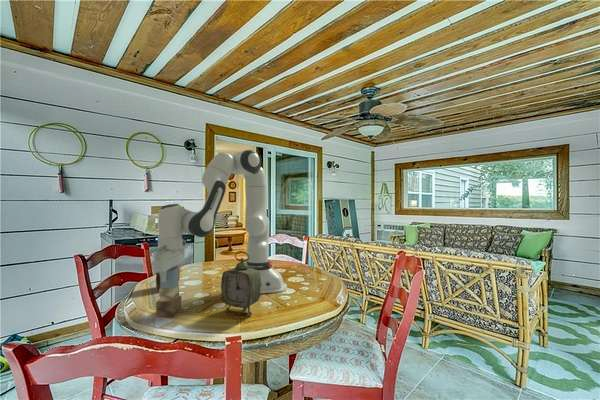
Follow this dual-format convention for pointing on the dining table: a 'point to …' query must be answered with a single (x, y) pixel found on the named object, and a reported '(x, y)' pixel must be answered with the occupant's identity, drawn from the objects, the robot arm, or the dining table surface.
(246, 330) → the dining table surface
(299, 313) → the dining table surface
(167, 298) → the maple top block
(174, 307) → the walnut base block
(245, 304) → the tabletop clock
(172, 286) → the slate block
